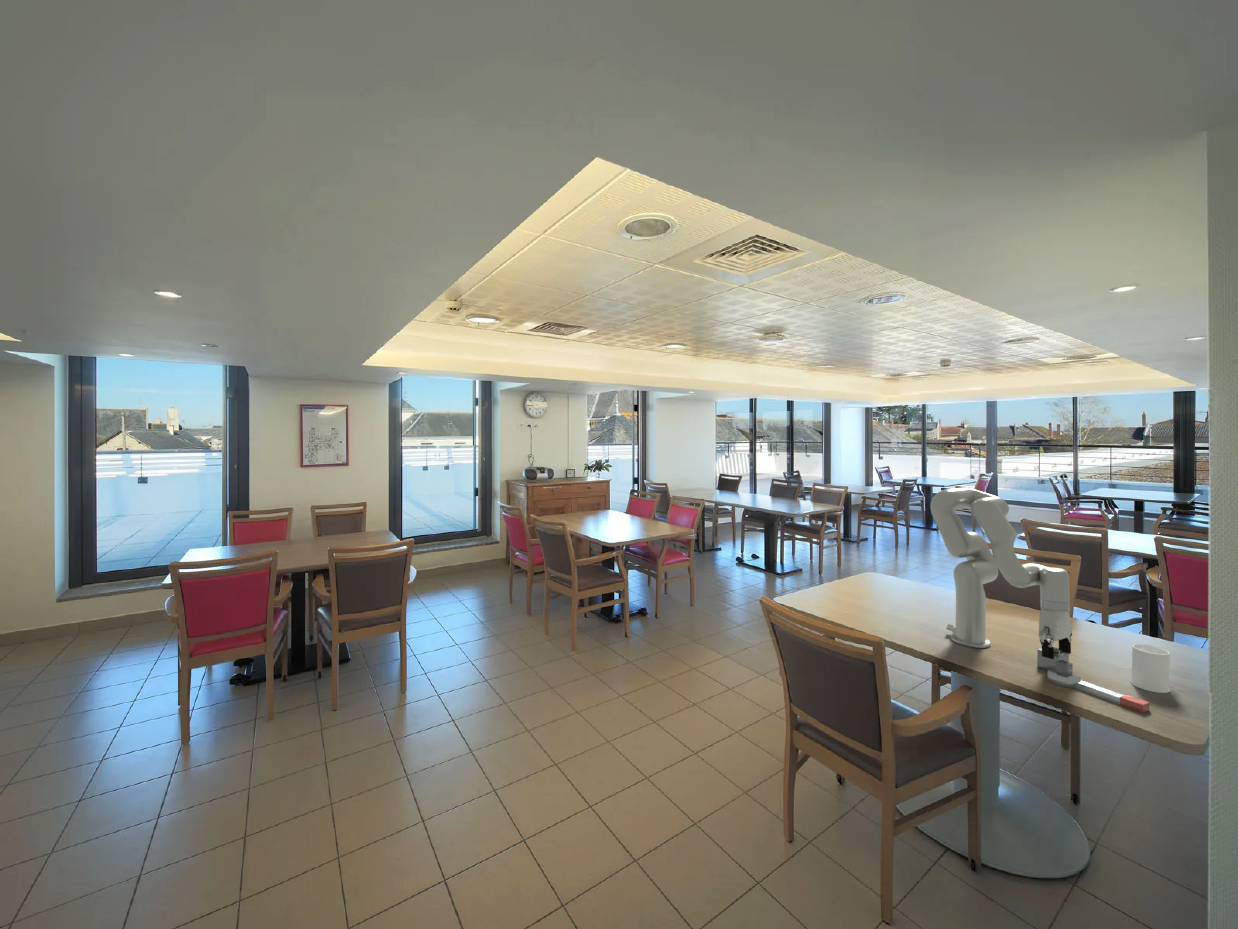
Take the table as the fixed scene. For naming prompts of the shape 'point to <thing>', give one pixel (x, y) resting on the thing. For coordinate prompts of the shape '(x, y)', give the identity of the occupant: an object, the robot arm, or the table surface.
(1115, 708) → the table surface
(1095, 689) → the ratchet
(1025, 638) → the table surface
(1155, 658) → the mug
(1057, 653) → the cube with domed knob
